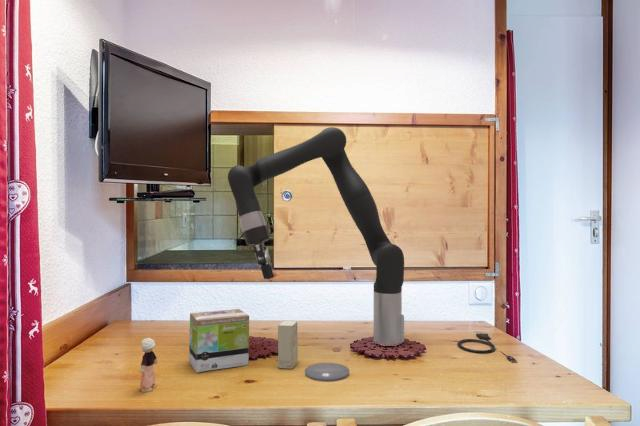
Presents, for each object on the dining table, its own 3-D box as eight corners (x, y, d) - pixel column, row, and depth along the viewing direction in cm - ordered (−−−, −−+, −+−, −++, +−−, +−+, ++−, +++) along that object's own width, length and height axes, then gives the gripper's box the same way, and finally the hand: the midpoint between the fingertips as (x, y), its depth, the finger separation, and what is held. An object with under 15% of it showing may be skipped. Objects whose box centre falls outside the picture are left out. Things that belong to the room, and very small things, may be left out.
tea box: (196, 374, 124) (196, 319, 124) (188, 363, 133) (188, 312, 133) (249, 365, 131) (249, 314, 131) (239, 355, 140) (238, 307, 140)
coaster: (341, 363, 133) (341, 361, 133) (355, 378, 121) (355, 375, 121) (300, 367, 130) (300, 364, 129) (311, 383, 118) (311, 380, 118)
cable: (470, 363, 134) (470, 358, 134) (448, 336, 162) (448, 332, 162) (517, 364, 134) (517, 359, 134) (487, 337, 162) (487, 333, 162)
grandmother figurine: (144, 383, 118) (144, 334, 118) (159, 383, 118) (159, 333, 118) (135, 395, 110) (134, 343, 110) (151, 395, 110) (151, 342, 110)
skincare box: (292, 369, 128) (292, 326, 128) (277, 368, 129) (277, 325, 129) (298, 362, 134) (298, 320, 134) (283, 361, 135) (283, 319, 135)
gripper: (263, 221, 136) (279, 274, 134) (268, 227, 150) (282, 274, 148) (239, 229, 136) (254, 282, 134) (246, 234, 150) (260, 282, 148)
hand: (269, 278), depth 141 cm, fingers open, 8 cm apart
